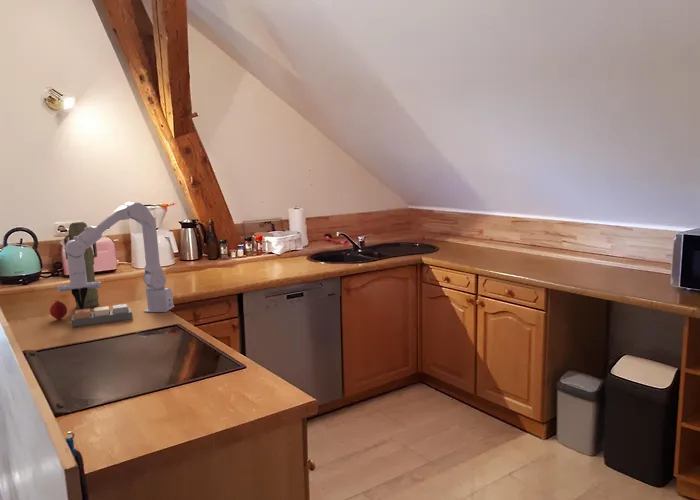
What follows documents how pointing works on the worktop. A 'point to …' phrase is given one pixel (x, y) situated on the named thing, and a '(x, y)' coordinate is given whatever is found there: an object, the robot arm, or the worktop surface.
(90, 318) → the key panel
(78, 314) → the terracotta key
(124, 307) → the light gray key
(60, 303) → the onion
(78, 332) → the worktop surface
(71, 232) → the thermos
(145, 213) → the robot arm
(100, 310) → the cream key
